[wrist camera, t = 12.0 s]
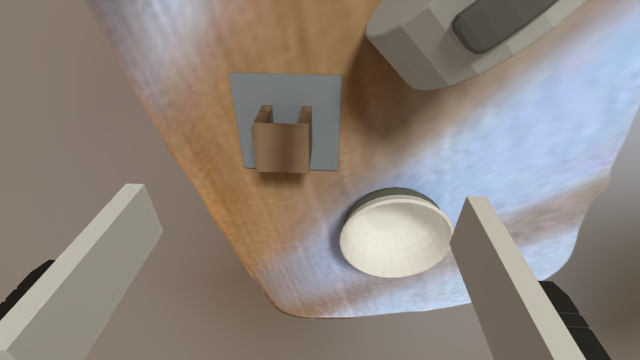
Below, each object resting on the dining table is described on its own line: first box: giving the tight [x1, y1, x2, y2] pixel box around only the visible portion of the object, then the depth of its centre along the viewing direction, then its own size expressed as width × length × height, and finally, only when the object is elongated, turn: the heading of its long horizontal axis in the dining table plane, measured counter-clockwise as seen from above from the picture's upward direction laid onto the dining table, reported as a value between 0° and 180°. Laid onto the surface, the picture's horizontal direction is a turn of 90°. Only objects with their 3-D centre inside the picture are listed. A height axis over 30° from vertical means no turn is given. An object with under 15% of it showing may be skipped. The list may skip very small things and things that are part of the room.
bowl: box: [339, 187, 454, 278], centre depth 55 cm, size 19×19×8 cm
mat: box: [229, 73, 342, 171], centre depth 49 cm, size 16×16×1 cm
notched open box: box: [251, 105, 312, 173], centre depth 45 cm, size 8×7×8 cm
